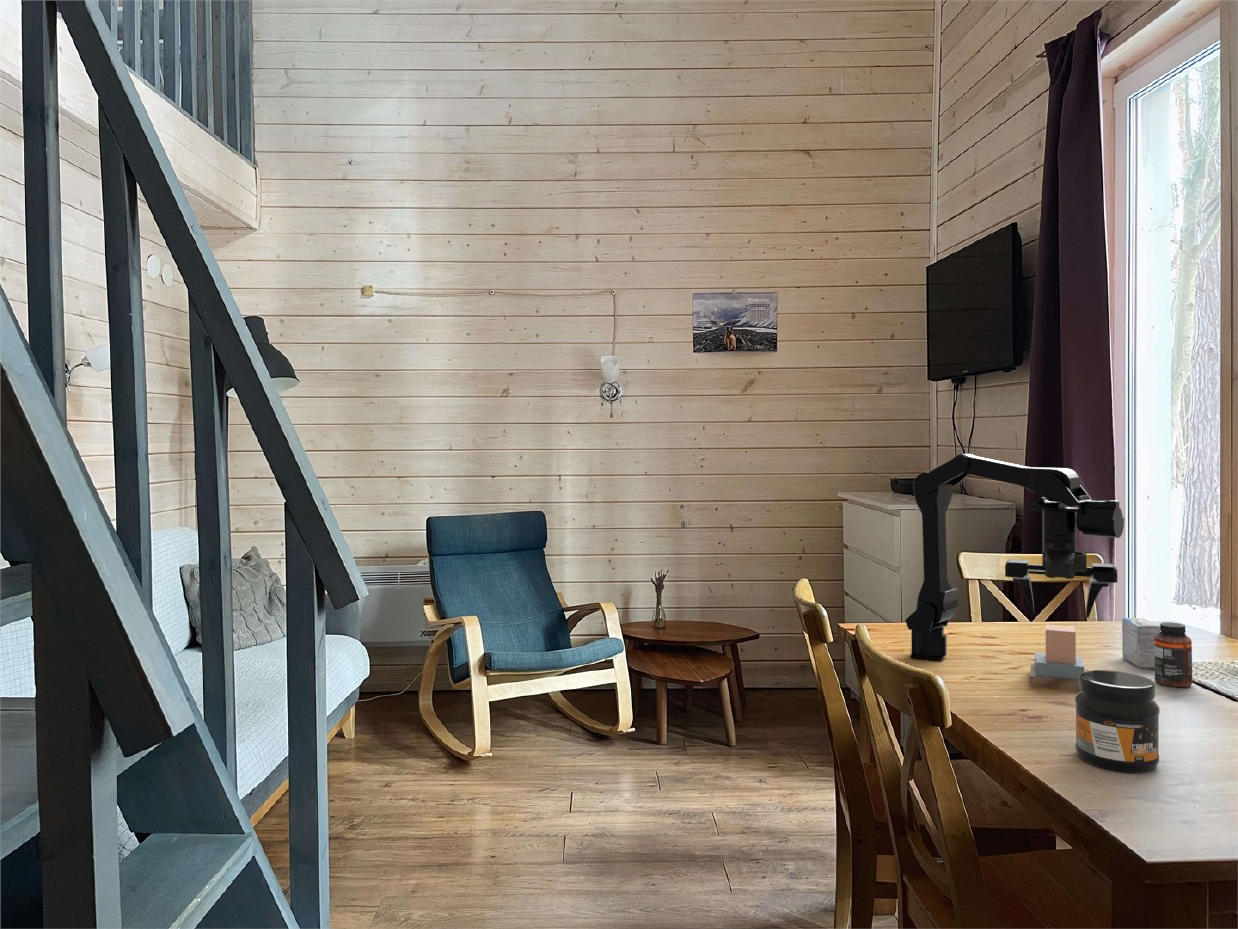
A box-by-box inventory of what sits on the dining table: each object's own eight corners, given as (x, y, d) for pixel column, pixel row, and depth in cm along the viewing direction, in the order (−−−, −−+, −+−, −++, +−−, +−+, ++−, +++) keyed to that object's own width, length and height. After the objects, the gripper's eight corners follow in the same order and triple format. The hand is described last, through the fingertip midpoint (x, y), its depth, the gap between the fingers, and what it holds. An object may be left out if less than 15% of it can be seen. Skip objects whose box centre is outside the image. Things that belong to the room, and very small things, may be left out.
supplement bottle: (1186, 680, 159) (1186, 621, 158) (1196, 689, 153) (1197, 628, 153) (1150, 678, 161) (1150, 620, 160) (1159, 687, 155) (1159, 626, 155)
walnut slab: (1029, 689, 157) (1029, 676, 157) (1031, 675, 166) (1031, 663, 166) (1090, 696, 153) (1090, 682, 153) (1088, 681, 161) (1088, 669, 161)
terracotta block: (1045, 661, 158) (1045, 629, 158) (1046, 655, 163) (1045, 624, 163) (1075, 664, 156) (1075, 632, 156) (1075, 657, 160) (1075, 626, 160)
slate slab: (1036, 675, 157) (1036, 662, 157) (1034, 665, 165) (1034, 652, 165) (1084, 680, 154) (1084, 666, 154) (1080, 669, 161) (1080, 656, 161)
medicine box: (1161, 669, 167) (1161, 626, 167) (1136, 668, 168) (1137, 625, 167) (1144, 658, 175) (1145, 617, 174) (1121, 658, 175) (1121, 617, 175)
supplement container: (1101, 776, 115) (1101, 690, 115) (1060, 747, 126) (1060, 669, 126) (1176, 774, 116) (1177, 689, 115) (1130, 746, 126) (1130, 668, 126)
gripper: (1003, 537, 156) (1003, 619, 156) (1119, 541, 147) (1119, 628, 148) (1006, 530, 166) (1006, 608, 166) (1115, 534, 157) (1115, 616, 157)
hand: (1059, 615), depth 159 cm, fingers open, 9 cm apart
